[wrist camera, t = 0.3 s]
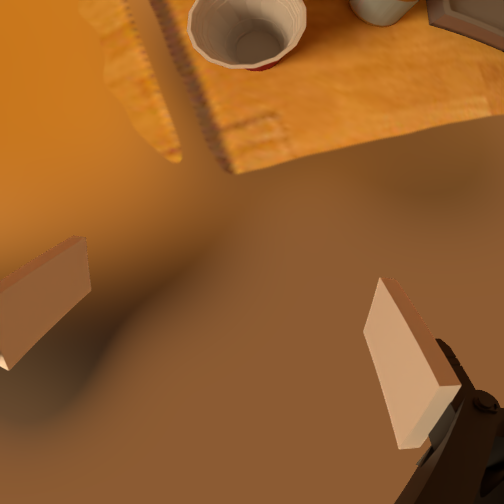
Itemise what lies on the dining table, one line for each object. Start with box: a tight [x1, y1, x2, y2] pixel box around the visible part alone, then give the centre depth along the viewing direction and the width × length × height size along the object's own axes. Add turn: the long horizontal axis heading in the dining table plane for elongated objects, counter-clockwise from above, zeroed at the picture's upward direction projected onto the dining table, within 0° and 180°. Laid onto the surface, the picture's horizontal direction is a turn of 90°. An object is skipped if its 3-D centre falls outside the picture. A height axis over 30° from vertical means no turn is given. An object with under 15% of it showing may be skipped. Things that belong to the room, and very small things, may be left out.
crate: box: [426, 0, 504, 52], centre depth 22 cm, size 16×24×5 cm, turn 89°
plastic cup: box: [187, 0, 306, 71], centre depth 27 cm, size 11×11×12 cm
